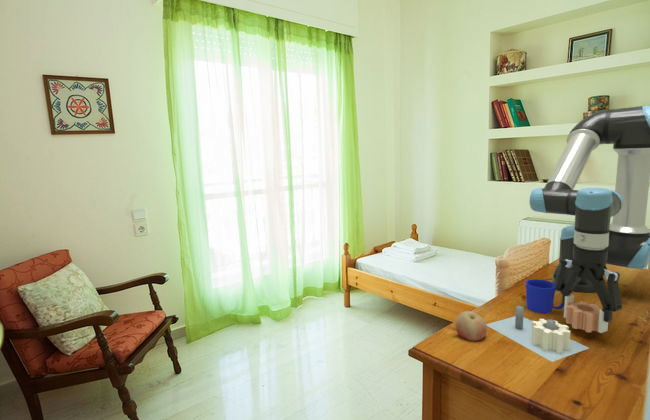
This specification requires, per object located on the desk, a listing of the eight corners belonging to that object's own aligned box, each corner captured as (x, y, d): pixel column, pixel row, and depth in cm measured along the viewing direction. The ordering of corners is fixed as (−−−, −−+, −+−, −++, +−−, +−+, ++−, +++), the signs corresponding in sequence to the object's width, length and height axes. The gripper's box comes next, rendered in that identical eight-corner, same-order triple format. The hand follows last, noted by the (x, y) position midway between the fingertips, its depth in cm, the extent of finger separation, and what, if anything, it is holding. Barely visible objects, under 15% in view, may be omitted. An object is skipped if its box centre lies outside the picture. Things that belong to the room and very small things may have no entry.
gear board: (519, 319, 112) (520, 295, 110) (589, 353, 92) (591, 324, 91) (485, 329, 107) (485, 304, 105) (551, 367, 87) (553, 337, 86)
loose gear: (579, 314, 105) (580, 298, 104) (611, 327, 97) (612, 310, 96) (558, 321, 102) (559, 305, 101) (590, 335, 94) (591, 318, 93)
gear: (536, 332, 101) (537, 315, 100) (572, 343, 95) (574, 325, 94) (526, 344, 95) (527, 327, 94) (564, 356, 89) (565, 338, 88)
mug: (572, 319, 110) (574, 289, 108) (529, 317, 112) (531, 288, 111) (560, 308, 118) (562, 279, 116) (520, 306, 120) (522, 278, 119)
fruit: (467, 349, 97) (468, 322, 95) (449, 335, 104) (450, 309, 103) (492, 344, 99) (493, 317, 97) (473, 330, 106) (473, 305, 105)
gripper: (543, 239, 104) (539, 311, 108) (627, 259, 84) (619, 346, 88) (561, 235, 106) (557, 305, 110) (646, 254, 87) (637, 338, 91)
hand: (584, 323), depth 99 cm, fingers closed on loose gear, 9 cm apart
